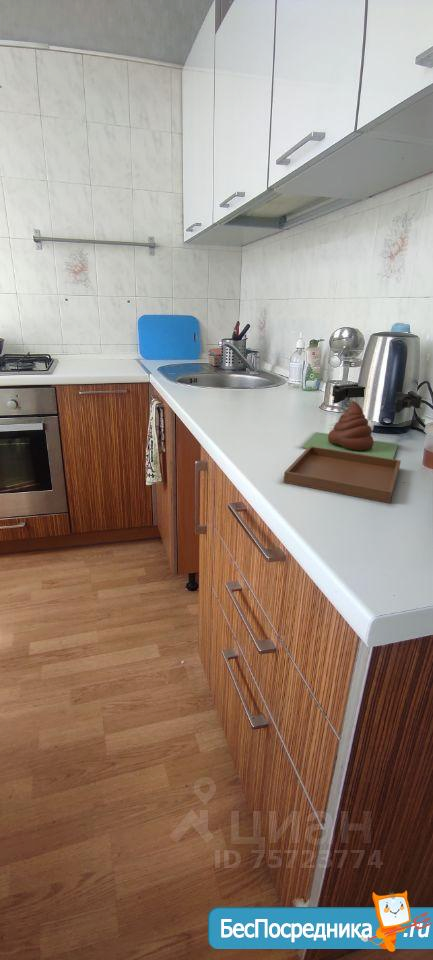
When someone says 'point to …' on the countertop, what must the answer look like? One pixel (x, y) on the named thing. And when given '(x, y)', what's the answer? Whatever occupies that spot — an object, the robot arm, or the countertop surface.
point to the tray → (345, 473)
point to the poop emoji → (352, 430)
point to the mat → (377, 450)
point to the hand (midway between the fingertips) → (365, 401)
